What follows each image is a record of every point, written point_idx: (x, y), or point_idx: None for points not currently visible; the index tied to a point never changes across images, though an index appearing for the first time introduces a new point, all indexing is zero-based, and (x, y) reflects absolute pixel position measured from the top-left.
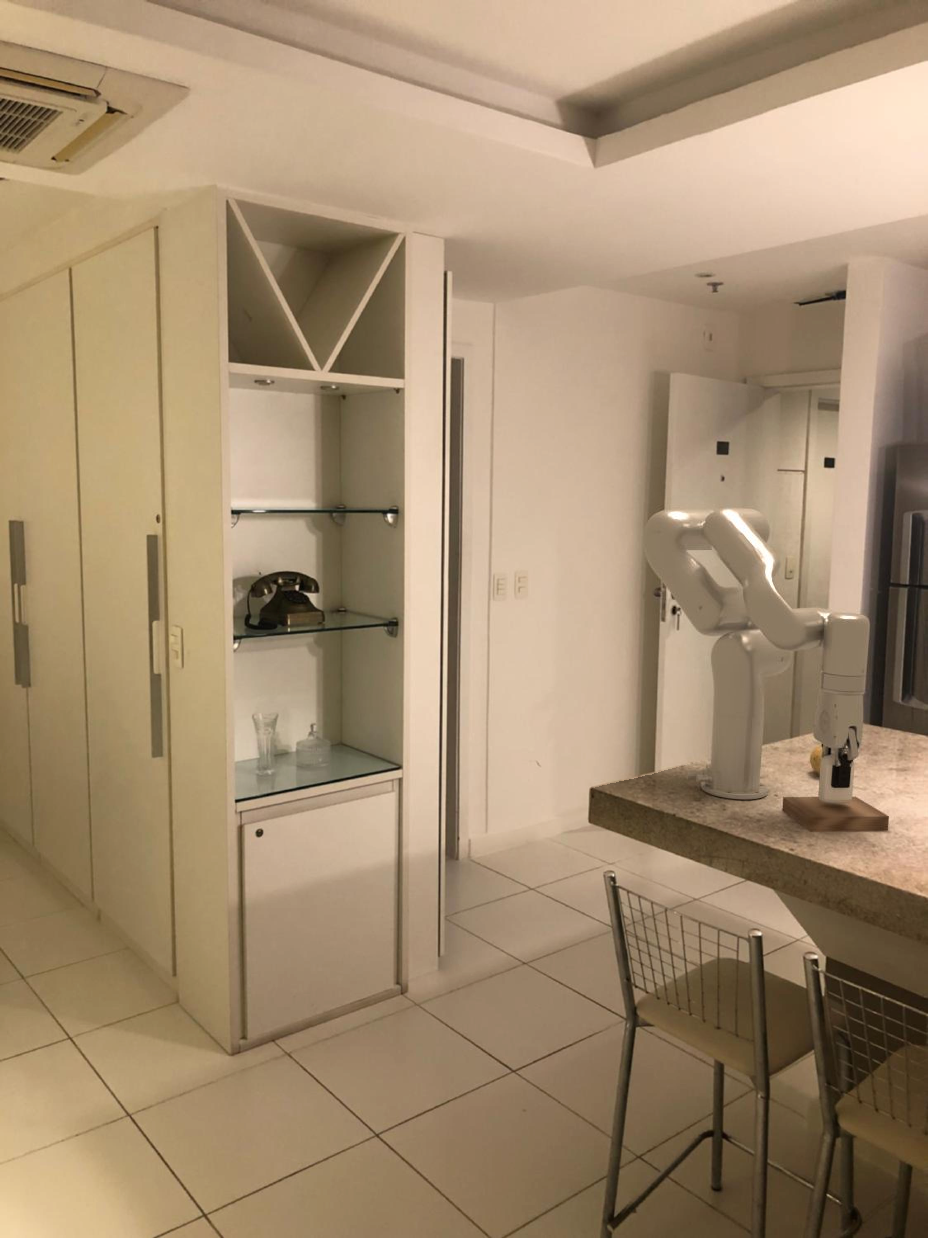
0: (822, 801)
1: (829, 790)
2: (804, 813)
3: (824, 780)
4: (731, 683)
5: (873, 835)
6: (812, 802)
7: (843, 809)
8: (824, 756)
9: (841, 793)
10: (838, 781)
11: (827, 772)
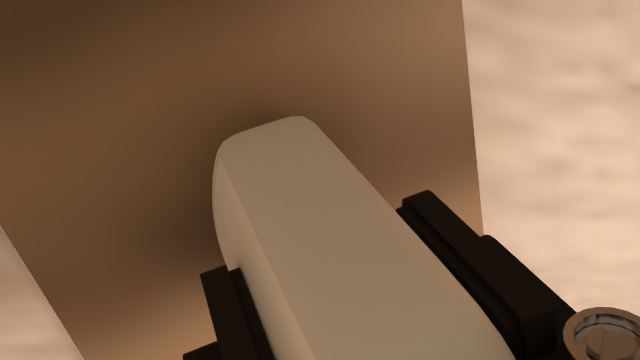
0: (371, 134)
1: (232, 228)
2: None
3: (261, 230)
4: None
5: (9, 347)
6: (334, 64)
7: (214, 250)
8: (575, 350)
9: None
10: (194, 358)
11: (282, 306)
